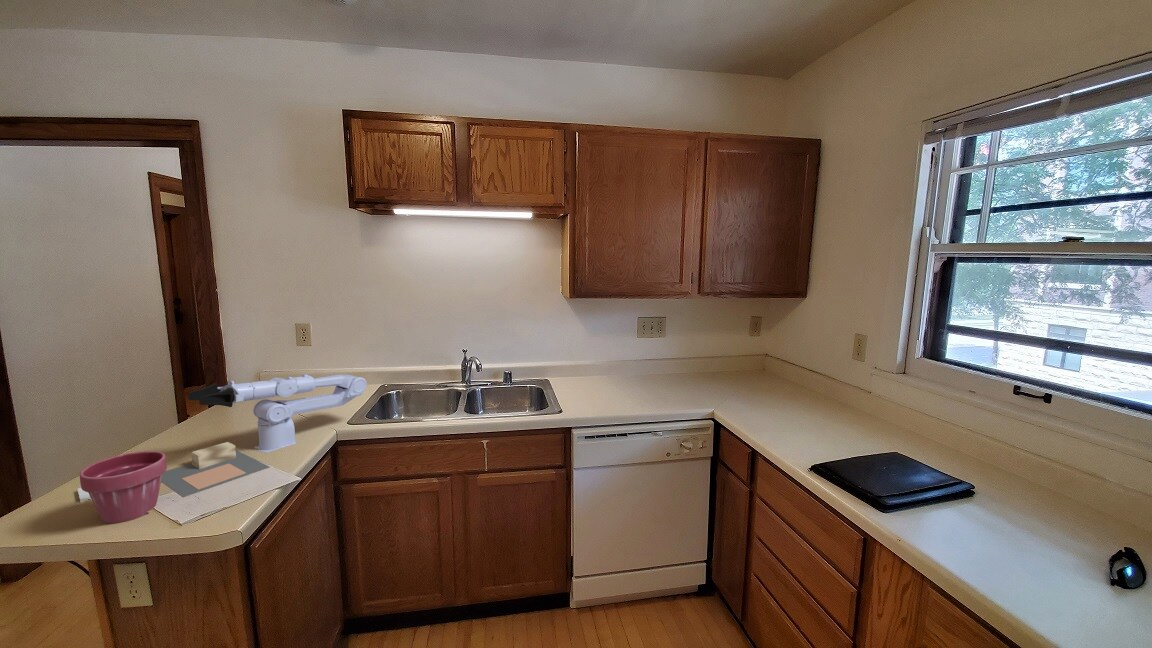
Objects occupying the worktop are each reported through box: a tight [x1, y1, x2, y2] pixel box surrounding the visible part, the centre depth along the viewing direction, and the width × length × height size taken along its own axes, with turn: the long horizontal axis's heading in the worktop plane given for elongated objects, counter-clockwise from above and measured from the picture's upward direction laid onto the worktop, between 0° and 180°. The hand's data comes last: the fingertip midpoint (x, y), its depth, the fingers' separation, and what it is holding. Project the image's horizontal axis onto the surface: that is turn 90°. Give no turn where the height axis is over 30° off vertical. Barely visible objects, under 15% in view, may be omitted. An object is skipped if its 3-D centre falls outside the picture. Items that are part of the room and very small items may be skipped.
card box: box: [190, 441, 237, 469], centre depth 129 cm, size 9×5×4 cm, turn 150°
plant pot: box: [79, 450, 168, 524], centre depth 102 cm, size 14×14×13 cm
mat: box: [161, 449, 271, 498], centre depth 123 cm, size 20×22×1 cm
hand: (194, 398), depth 122 cm, fingers open, 7 cm apart
